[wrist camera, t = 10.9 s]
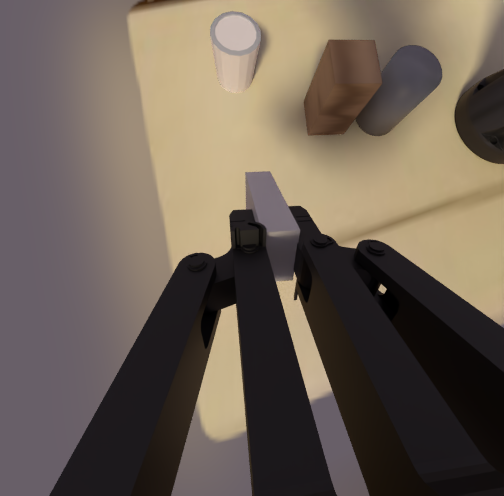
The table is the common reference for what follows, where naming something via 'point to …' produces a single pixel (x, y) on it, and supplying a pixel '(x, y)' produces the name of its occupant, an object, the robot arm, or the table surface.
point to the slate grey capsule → (400, 89)
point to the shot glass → (235, 49)
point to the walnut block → (341, 86)
